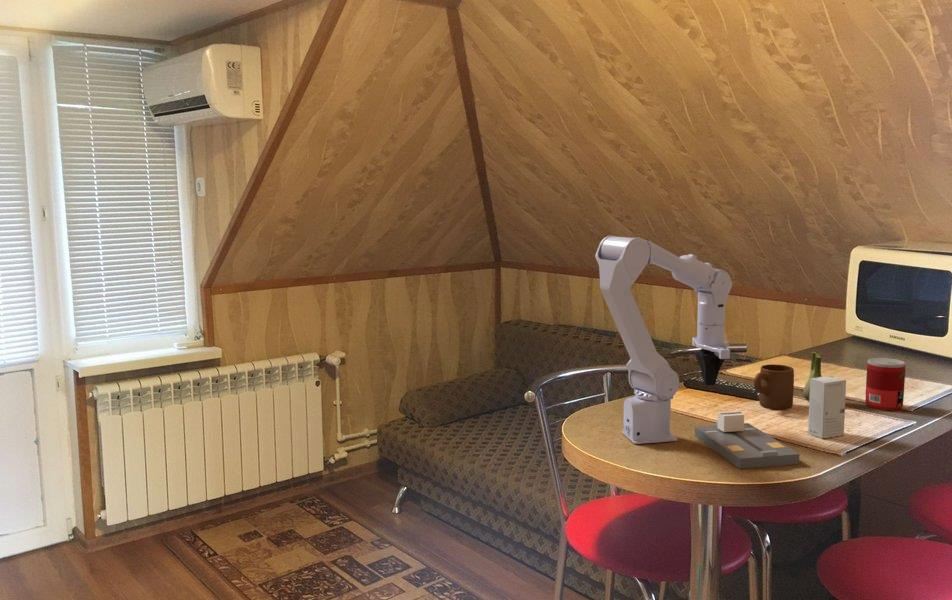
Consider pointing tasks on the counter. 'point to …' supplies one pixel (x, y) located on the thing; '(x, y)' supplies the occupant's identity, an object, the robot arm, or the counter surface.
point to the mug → (775, 386)
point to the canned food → (885, 384)
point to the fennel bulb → (813, 373)
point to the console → (747, 447)
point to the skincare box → (827, 406)
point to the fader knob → (730, 421)
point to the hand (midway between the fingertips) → (709, 384)
